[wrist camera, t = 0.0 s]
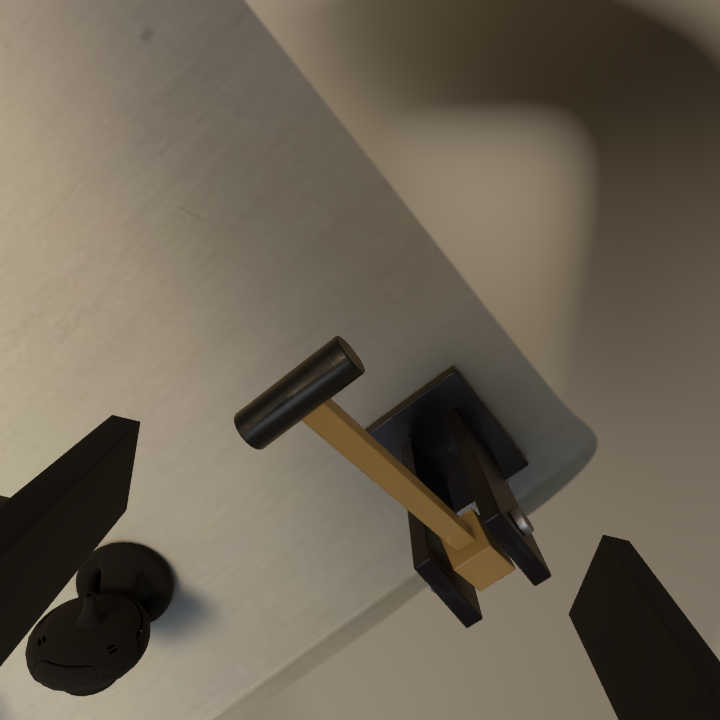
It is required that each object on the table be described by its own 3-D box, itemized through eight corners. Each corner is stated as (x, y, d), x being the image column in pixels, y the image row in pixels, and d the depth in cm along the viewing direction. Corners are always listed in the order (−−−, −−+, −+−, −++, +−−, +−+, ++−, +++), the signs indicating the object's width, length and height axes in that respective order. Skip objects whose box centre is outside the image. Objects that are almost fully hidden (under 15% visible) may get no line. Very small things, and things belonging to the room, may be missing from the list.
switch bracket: (363, 429, 41) (358, 551, 26) (453, 364, 39) (498, 457, 25) (437, 516, 43) (469, 674, 28) (525, 457, 41) (605, 593, 27)
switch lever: (232, 400, 22) (233, 440, 20) (331, 322, 21) (344, 357, 19) (442, 566, 31) (458, 606, 29) (518, 517, 30) (540, 554, 28)
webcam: (80, 614, 46) (2, 723, 36) (78, 534, 44) (-5, 628, 34) (175, 624, 46) (122, 737, 36) (177, 546, 44) (122, 643, 34)
